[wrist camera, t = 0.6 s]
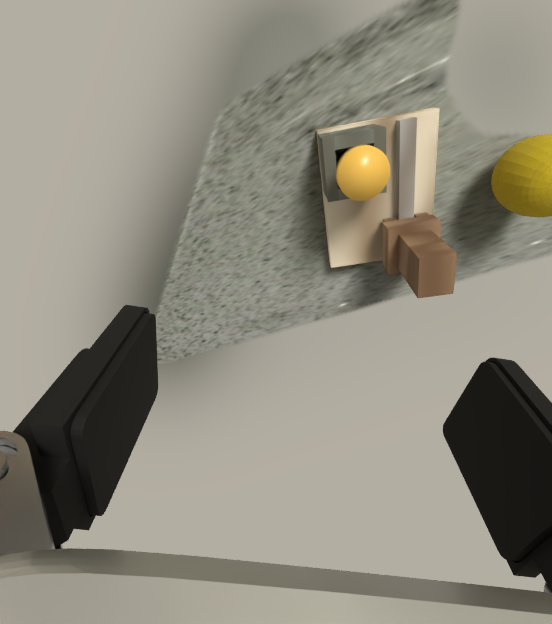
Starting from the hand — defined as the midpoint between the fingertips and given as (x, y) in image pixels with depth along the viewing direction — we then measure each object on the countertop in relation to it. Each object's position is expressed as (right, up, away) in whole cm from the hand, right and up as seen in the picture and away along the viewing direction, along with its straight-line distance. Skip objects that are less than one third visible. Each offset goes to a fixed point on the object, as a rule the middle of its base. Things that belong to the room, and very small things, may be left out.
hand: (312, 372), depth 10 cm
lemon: (+18, +14, +19) cm, 30 cm away
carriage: (+10, +8, +20) cm, 24 cm away
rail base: (+8, +12, +20) cm, 25 cm away
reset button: (+5, +13, +15) cm, 21 cm away
